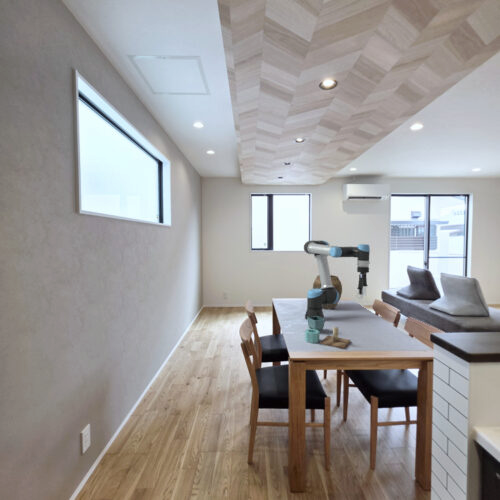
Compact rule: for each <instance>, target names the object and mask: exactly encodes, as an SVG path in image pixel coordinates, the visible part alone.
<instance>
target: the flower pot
mask: <svg viewBox="0 0 500 500" xmlns="http://www.w3.org/2000/svg"><path fill="white" fill-rule="evenodd" d="M306 320H307V325H308V329H315V330H318V331H319V333H320V332H321V331H323V329H324V327H325V321H326V319H325V317H324V318H321V317H318V316H313V317H307V319H306Z"/></svg>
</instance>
